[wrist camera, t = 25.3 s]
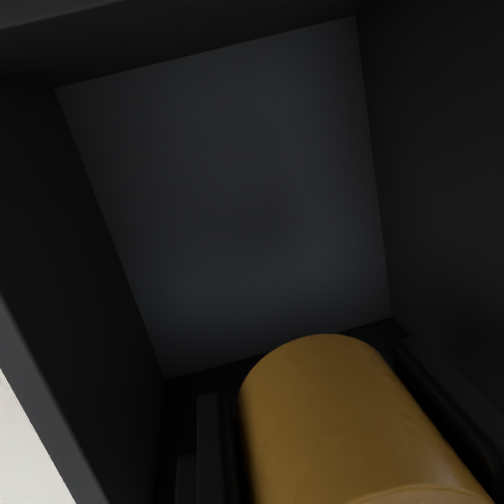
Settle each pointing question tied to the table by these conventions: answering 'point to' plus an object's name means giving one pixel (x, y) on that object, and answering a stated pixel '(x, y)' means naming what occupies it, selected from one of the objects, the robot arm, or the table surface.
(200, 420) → the robot arm
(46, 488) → the table surface
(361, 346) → the wooden peg
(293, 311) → the dark grey open box
